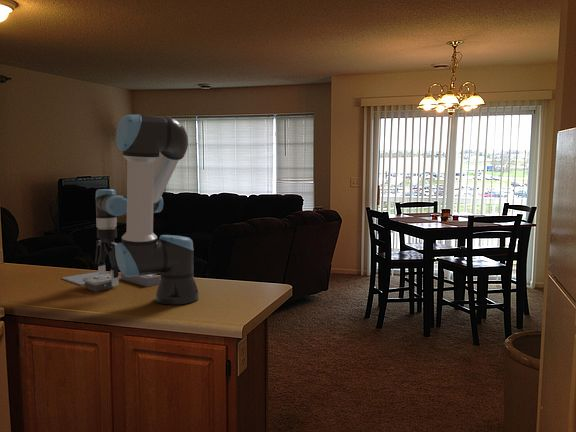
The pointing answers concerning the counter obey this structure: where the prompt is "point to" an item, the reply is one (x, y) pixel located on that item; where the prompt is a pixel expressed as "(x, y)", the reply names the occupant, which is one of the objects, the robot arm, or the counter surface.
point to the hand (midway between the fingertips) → (108, 283)
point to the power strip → (143, 280)
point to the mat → (79, 278)
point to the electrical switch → (98, 283)
